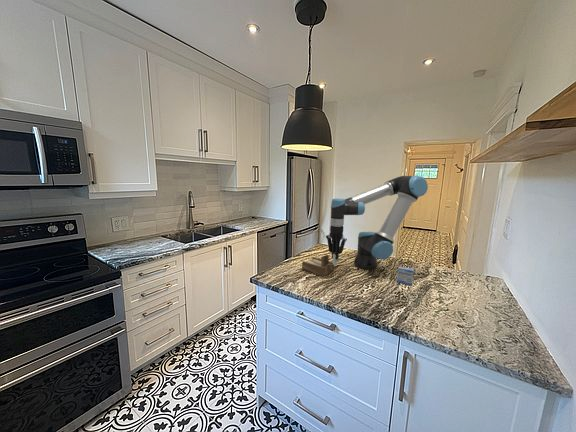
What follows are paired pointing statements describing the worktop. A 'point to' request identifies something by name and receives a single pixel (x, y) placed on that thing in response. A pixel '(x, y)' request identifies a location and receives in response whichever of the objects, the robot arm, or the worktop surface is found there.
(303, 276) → the worktop surface
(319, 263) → the cover plate
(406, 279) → the medicine box
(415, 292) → the worktop surface
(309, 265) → the walnut box
